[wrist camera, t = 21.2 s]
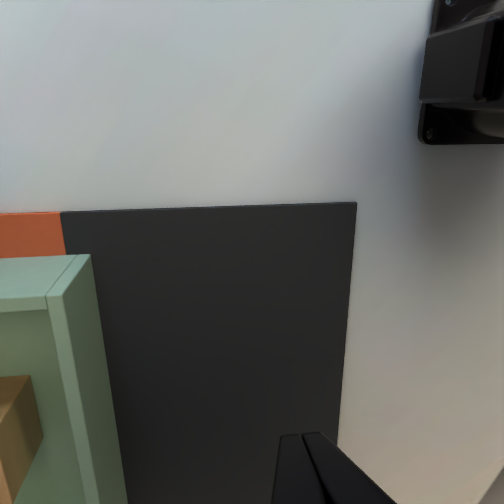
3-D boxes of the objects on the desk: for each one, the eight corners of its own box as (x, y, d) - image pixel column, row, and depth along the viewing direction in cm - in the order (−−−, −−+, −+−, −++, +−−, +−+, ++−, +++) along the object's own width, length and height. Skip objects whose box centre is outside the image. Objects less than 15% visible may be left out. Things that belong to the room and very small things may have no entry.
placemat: (355, 201, 20) (357, 202, 20) (330, 498, 27) (332, 502, 27) (-185, 219, 17) (-191, 221, 17) (-63, 548, 24) (-66, 553, 24)
